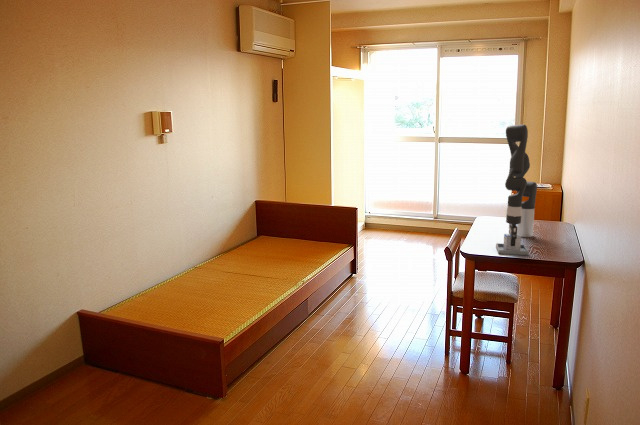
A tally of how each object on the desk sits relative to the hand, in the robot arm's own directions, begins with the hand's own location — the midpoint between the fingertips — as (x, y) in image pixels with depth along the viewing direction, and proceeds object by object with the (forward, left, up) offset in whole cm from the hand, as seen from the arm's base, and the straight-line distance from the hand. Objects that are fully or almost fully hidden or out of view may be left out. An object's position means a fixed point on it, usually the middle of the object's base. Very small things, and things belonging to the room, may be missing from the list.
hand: (512, 244), depth 285 cm
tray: (0, 0, -4) cm, 4 cm away
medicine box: (0, 0, -4) cm, 4 cm away
